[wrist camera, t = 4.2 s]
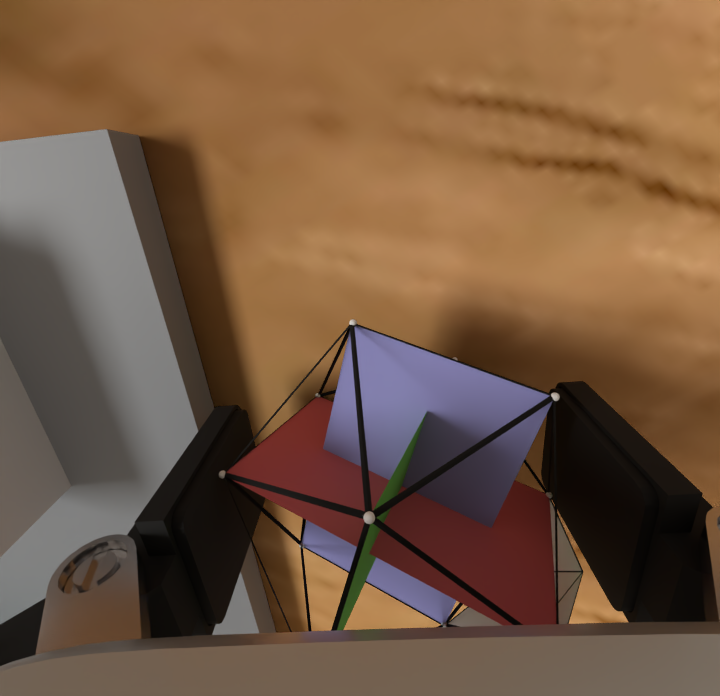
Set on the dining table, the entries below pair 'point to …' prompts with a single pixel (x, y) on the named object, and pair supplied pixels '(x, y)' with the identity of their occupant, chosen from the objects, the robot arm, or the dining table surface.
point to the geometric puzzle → (421, 487)
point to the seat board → (91, 361)
